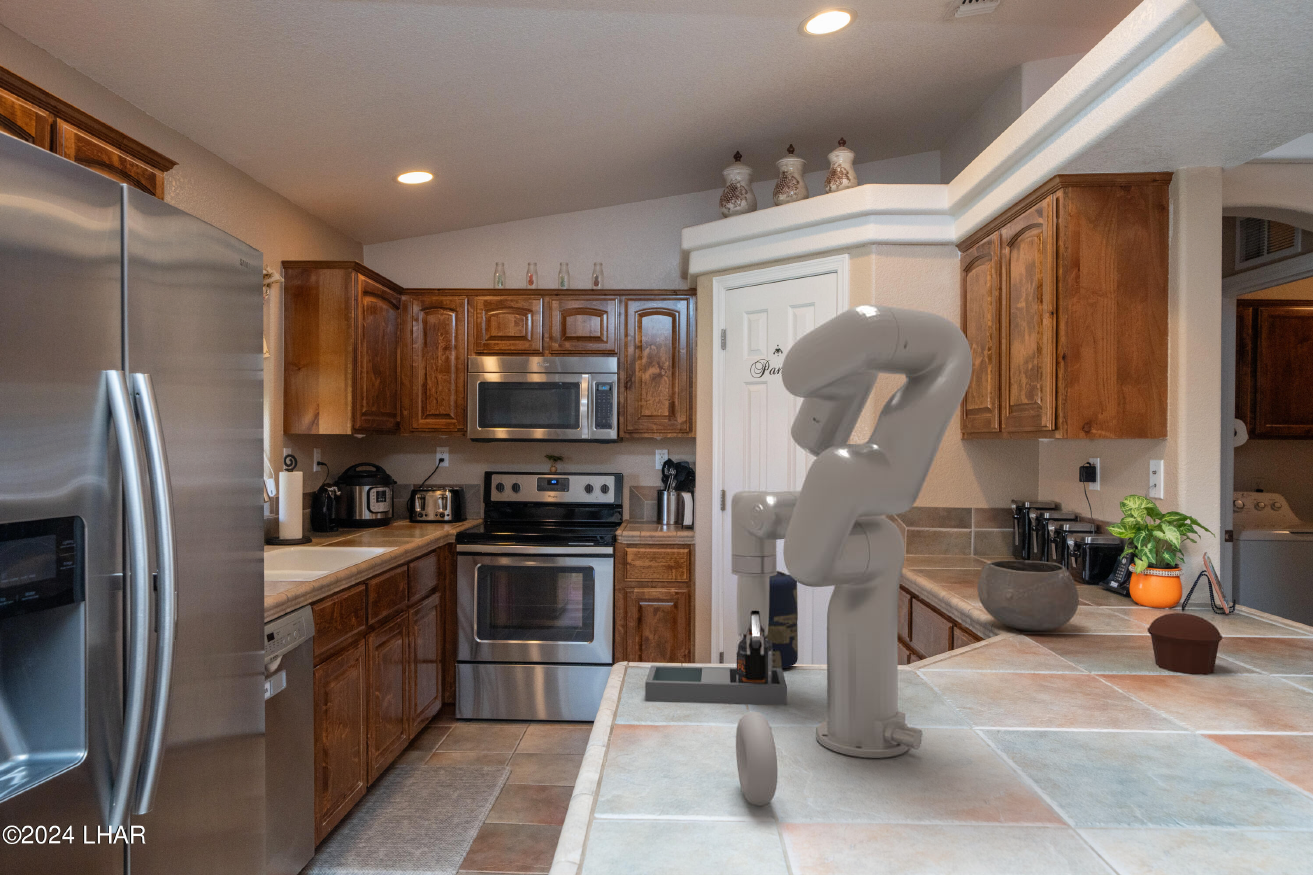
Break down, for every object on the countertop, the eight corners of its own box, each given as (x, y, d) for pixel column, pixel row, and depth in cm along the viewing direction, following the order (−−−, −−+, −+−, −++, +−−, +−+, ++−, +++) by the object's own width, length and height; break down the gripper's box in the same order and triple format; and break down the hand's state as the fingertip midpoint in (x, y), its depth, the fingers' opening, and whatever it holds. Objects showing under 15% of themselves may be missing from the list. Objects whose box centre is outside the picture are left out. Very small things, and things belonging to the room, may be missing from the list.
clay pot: (1098, 639, 165) (1097, 570, 165) (1001, 639, 165) (1001, 569, 166) (1049, 618, 186) (1048, 557, 186) (964, 618, 186) (963, 557, 187)
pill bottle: (732, 697, 125) (731, 628, 125) (741, 687, 130) (741, 620, 130) (767, 701, 122) (767, 630, 123) (776, 691, 128) (775, 623, 128)
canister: (797, 673, 139) (797, 574, 139) (745, 670, 140) (745, 573, 141) (798, 659, 148) (798, 567, 148) (749, 657, 150) (749, 565, 150)
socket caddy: (782, 686, 131) (781, 668, 131) (786, 704, 121) (786, 685, 121) (651, 682, 133) (651, 665, 133) (645, 700, 123) (645, 682, 123)
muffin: (1154, 672, 140) (1153, 618, 140) (1141, 657, 150) (1140, 607, 150) (1232, 679, 135) (1231, 623, 135) (1213, 664, 145) (1212, 611, 146)
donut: (732, 783, 92) (732, 700, 92) (761, 782, 92) (760, 699, 92) (750, 823, 82) (749, 729, 82) (781, 821, 82) (781, 728, 82)
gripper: (730, 557, 136) (731, 659, 135) (732, 572, 119) (732, 688, 118) (773, 558, 135) (773, 660, 135) (780, 573, 118) (780, 689, 117)
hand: (754, 672), depth 126 cm, fingers closed on pill bottle, 6 cm apart
